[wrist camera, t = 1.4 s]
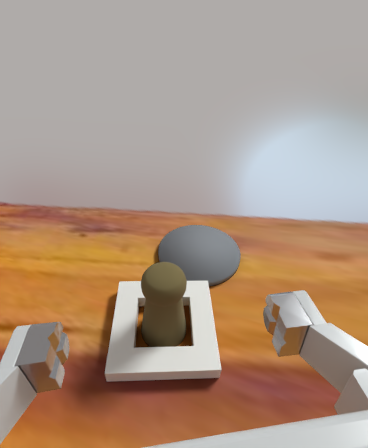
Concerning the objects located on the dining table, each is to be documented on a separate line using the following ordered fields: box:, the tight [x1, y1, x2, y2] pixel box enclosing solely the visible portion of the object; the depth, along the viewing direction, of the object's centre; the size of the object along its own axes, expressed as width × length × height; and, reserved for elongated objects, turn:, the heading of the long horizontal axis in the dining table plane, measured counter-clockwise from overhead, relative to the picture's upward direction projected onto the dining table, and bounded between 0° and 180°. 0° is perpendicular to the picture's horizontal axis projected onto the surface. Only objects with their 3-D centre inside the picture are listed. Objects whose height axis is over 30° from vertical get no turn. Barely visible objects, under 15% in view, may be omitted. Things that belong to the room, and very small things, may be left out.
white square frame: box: [105, 281, 221, 382], centre depth 37 cm, size 13×13×2 cm
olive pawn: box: [141, 262, 187, 347], centre depth 35 cm, size 6×6×11 cm
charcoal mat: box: [158, 225, 240, 286], centre depth 49 cm, size 14×14×1 cm
